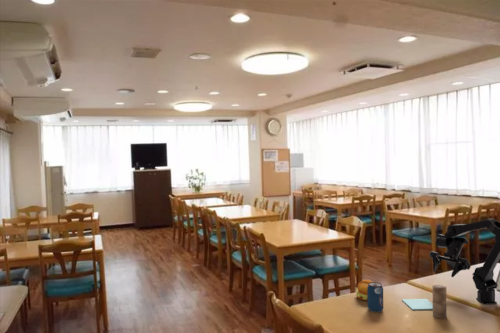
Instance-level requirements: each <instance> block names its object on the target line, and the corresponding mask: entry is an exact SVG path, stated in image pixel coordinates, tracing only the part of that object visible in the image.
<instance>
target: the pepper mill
mask: <svg viewBox="0 0 500 333" xmlns="http://www.w3.org/2000/svg"><path fill="white" fill-rule="evenodd" d="M447 299H448V298H447V286H445V285H442V284H433V285H432V303H433V310H432V317H434V318H436V319H441V320H442V319H443V320H444V319H447V317H448V316H447V315H448V314H447V313H448V312H447V311H448V310H447V307H448V306H447Z"/></svg>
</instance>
